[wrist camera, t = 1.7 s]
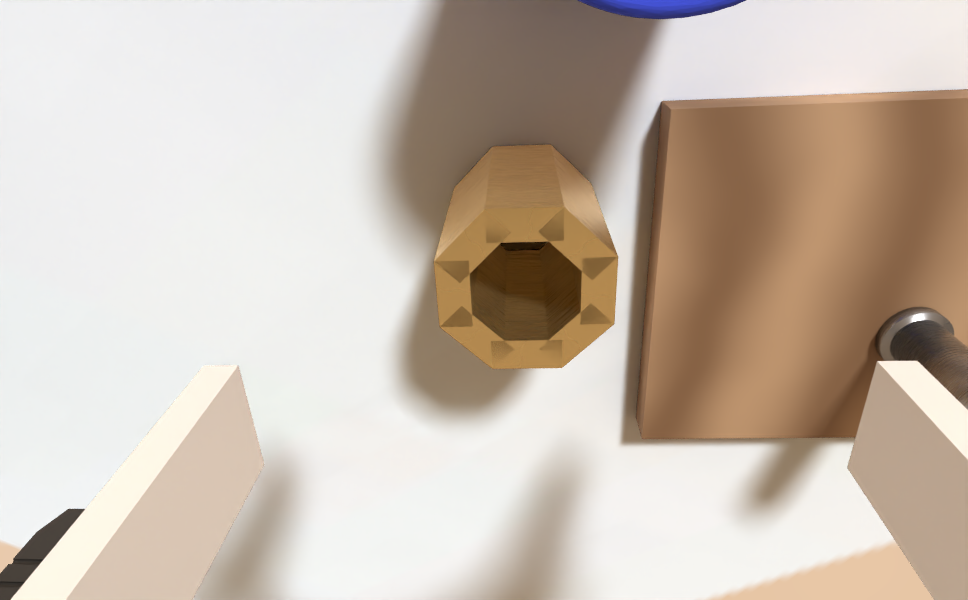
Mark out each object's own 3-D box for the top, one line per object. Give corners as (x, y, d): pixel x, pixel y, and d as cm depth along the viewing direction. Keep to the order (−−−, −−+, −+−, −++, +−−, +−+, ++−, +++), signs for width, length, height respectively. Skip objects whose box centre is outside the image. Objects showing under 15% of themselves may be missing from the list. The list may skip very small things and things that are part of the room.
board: (636, 417, 29) (642, 439, 27) (661, 100, 22) (671, 109, 21) (1002, 413, 28) (1026, 435, 27) (1138, 82, 21) (1179, 90, 20)
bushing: (460, 274, 26) (443, 369, 20) (451, 147, 23) (429, 210, 17) (588, 271, 26) (612, 367, 19) (592, 142, 23) (621, 204, 17)
